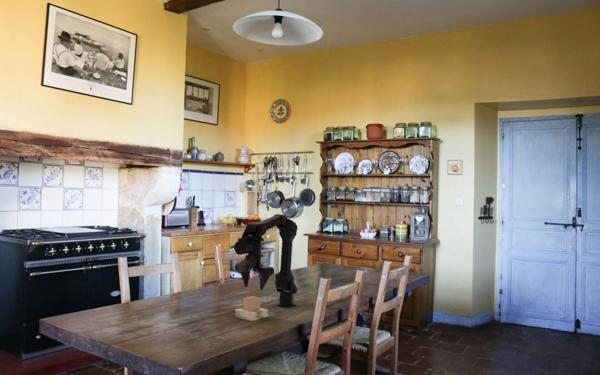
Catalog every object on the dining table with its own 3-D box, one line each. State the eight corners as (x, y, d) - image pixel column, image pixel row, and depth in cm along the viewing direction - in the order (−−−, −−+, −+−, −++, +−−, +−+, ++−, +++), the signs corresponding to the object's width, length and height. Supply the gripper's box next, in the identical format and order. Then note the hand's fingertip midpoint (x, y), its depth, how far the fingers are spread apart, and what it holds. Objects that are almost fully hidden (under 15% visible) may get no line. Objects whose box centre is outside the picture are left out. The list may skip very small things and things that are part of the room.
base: (251, 312, 213) (251, 305, 213) (268, 316, 207) (268, 309, 207) (235, 316, 205) (235, 309, 205) (251, 321, 199) (251, 313, 199)
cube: (251, 307, 210) (252, 296, 210) (260, 309, 206) (260, 297, 207) (243, 309, 206) (243, 297, 206) (251, 311, 203) (251, 299, 203)
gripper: (225, 251, 207) (224, 288, 207) (256, 256, 195) (255, 295, 195) (244, 249, 215) (243, 284, 215) (275, 254, 203) (274, 291, 203)
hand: (253, 288), depth 207 cm, fingers open, 9 cm apart
